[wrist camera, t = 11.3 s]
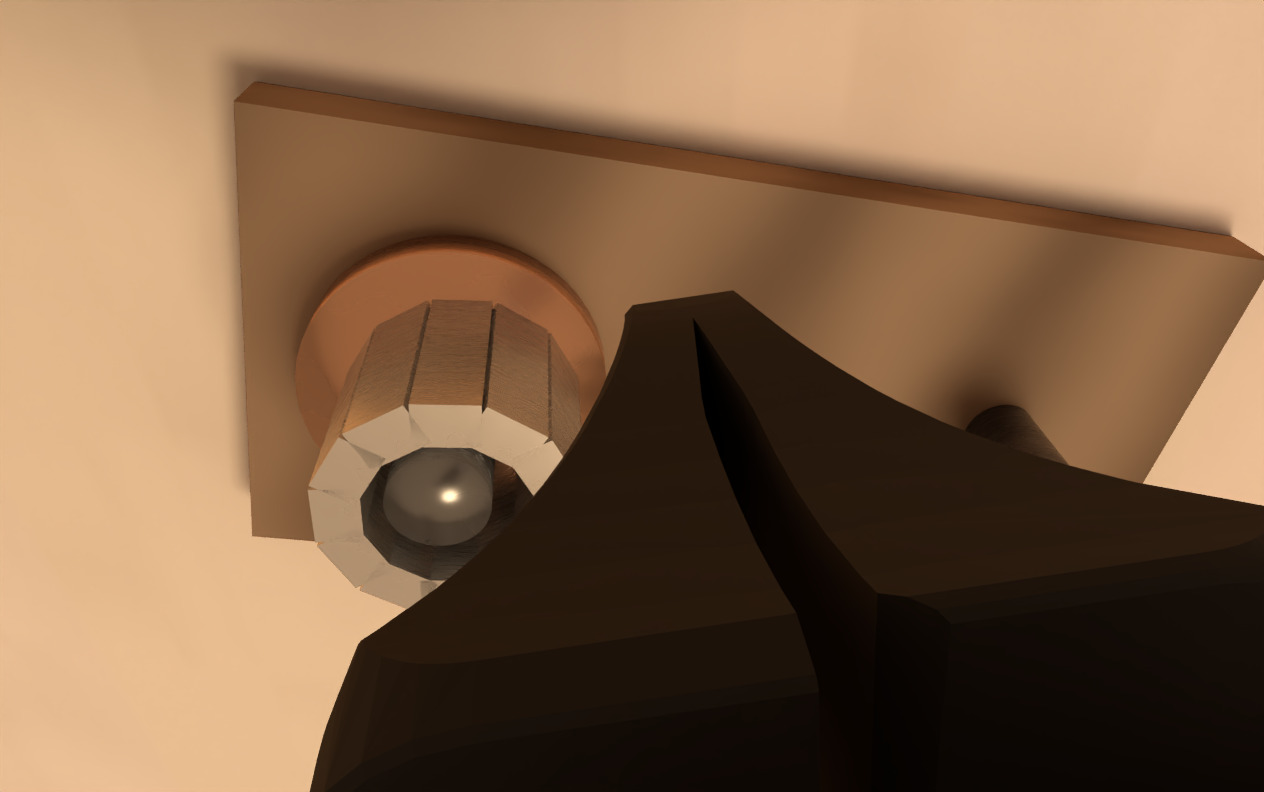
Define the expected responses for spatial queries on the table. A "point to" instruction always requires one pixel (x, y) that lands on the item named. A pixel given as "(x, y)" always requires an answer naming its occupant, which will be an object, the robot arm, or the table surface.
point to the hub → (424, 270)
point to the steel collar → (438, 433)
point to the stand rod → (1014, 431)
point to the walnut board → (734, 270)
